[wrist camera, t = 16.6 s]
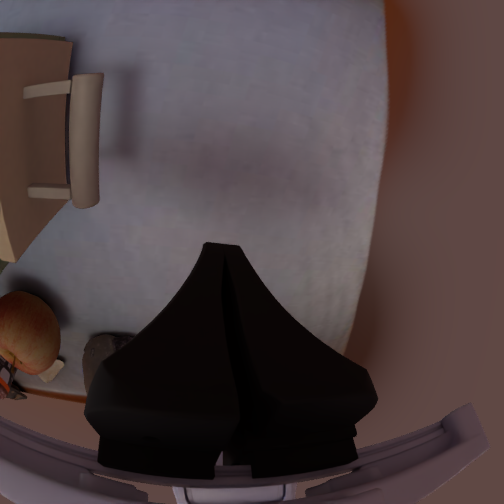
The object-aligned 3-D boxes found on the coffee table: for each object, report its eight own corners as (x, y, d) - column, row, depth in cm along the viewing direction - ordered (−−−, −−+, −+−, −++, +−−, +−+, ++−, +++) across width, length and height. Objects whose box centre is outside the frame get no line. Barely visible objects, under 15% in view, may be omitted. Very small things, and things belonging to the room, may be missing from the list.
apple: (82, 334, 24) (62, 400, 18) (30, 330, 24) (8, 386, 17) (49, 273, 19) (11, 345, 13) (-3, 276, 19) (-39, 334, 12)
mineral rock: (172, 397, 33) (171, 466, 24) (95, 380, 30) (82, 448, 21) (191, 346, 26) (190, 442, 18) (86, 321, 23) (59, 412, 15)
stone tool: (48, 381, 30) (77, 368, 27) (46, 386, 29) (75, 374, 27) (22, 364, 27) (47, 347, 25) (21, 368, 26) (45, 353, 24)
